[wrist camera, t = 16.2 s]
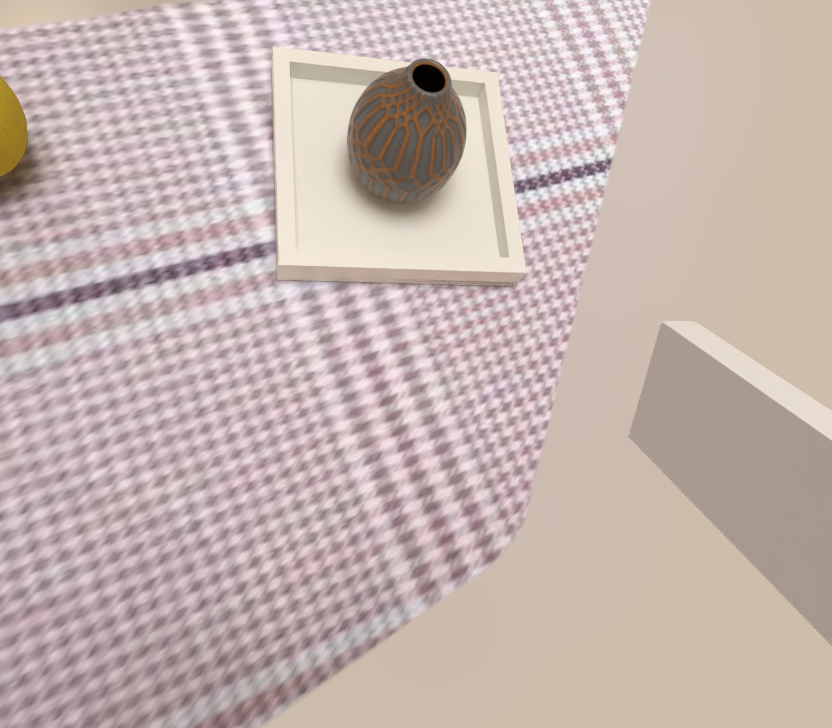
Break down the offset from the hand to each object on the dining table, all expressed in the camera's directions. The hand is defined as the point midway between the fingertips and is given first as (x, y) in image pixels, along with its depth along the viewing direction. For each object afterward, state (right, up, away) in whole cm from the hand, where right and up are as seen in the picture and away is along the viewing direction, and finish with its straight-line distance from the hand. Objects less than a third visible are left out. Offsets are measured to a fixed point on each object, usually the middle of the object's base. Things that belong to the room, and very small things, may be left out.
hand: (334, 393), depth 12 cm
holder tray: (0, +13, +31) cm, 34 cm away
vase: (0, +13, +31) cm, 34 cm away
